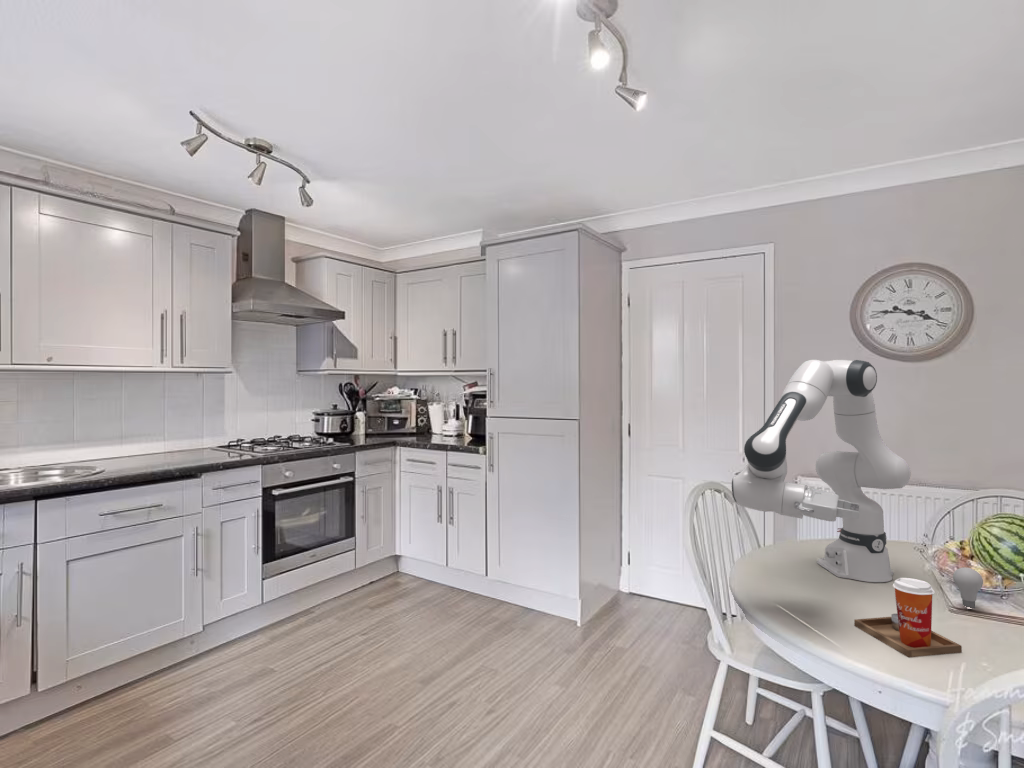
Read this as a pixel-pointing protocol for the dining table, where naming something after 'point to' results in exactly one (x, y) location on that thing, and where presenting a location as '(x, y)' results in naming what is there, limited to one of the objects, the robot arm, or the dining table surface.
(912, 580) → the paper cup
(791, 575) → the dining table surface
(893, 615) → the part
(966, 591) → the lightbulb
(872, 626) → the tray
